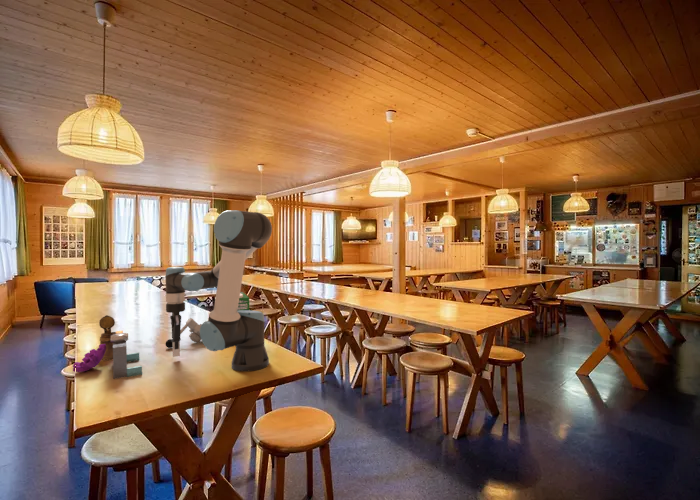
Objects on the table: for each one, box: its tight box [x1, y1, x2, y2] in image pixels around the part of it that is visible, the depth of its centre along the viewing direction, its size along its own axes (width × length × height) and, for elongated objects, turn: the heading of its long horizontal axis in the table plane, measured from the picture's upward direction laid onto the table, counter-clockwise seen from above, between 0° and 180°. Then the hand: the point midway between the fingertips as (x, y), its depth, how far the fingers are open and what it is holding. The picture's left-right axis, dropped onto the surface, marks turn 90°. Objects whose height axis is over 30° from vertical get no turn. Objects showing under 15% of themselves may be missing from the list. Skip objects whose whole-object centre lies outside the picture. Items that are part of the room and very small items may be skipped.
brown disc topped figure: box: [99, 315, 116, 361], centre depth 165 cm, size 9×14×18 cm, turn 40°
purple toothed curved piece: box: [72, 344, 106, 373], centre depth 147 cm, size 11×15×10 cm
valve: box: [165, 317, 203, 349], centre depth 183 cm, size 10×18×15 cm
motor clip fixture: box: [111, 330, 143, 380], centre depth 148 cm, size 22×10×14 cm, turn 33°
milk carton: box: [237, 291, 250, 311], centre depth 192 cm, size 9×9×25 cm
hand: (176, 355), depth 158 cm, fingers closed
